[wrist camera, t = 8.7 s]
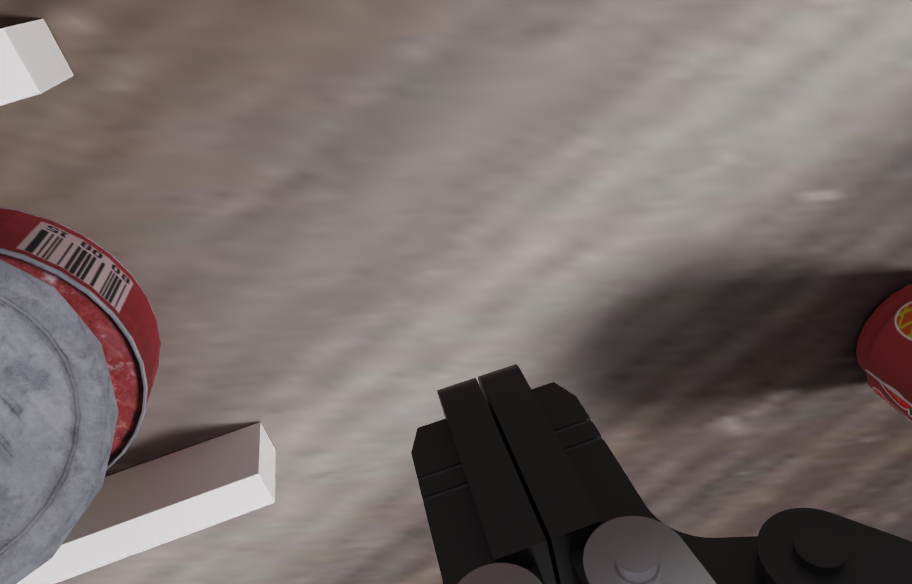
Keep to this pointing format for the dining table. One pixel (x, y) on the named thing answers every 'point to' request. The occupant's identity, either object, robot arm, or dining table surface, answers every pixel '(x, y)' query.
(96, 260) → the canned food
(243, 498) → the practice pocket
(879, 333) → the smoothie
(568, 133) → the dining table surface
